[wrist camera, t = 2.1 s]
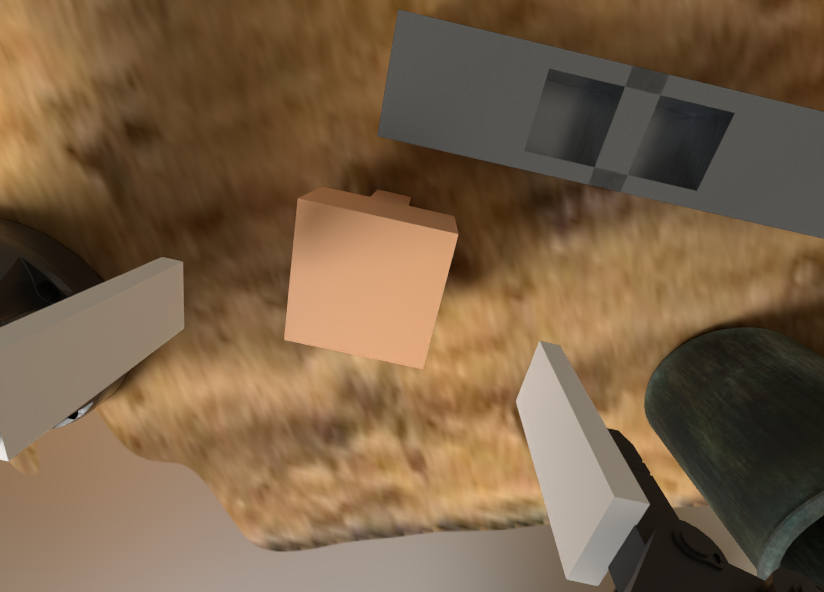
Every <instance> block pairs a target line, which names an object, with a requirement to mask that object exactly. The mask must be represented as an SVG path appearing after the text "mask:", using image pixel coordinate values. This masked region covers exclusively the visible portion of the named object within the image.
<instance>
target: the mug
mask: <svg viewBox="0 0 824 592" xmlns="http://www.w3.org/2000/svg"><path fill="white" fill-rule="evenodd" d="M644 407H645V413H646V417H647V419H648V422H649V424H650V425H651V427H652V428H653V429H654V431H655V432H656V434H657V435H658V436H659V438H660V439H661V440H662V442H663V443H664V444H665V446H666V447H667V449H668V450H669V451H670V453H671V454H672V455H673V457H674V458H675V459H676V461H677V462H678V463H679V465H680V466H681V467H682V469H683V470H684V472H685V473H686V474H687V476H688V477H689V478H690V480H691V481H692V482H693V484H694V485H695V486H696V488H697V489H698V491H699V492H700V493H701V495H702V496H703V497H704V499H705V500H706V501H707V503H708V504H709V505H710V507H711V508H712V509H713V511H714V512H715V513H716V515H717V516H718V518H719V519H720V520H721V522H722V523H723V524H724V526H725V527H726V528H727V530H728V531H729V533H730V534H731V535H732V536H733V538H734V539H735V540H736V542H737V543H738V545H739V546H740V547H741V549H742V550H743V551H744V553H745V554H746V556H747V557H748V558H749V560H750V561H751V562H752V564H753V565H754V566H755V568H756V569H757V577H759V578H761V579H763V580H766V579H767V578H768V577H769V576H770V575H771V574H772V572H774V571H775V570H776V569H778V568H781V569H789V570H792V571H794V572H797V573H799V574H802V575H804V576H805V577H807V578H808V579H810V580H812V581H813V582H815V583H817V584H818V585H820V586H821V587H823V588H824V357H823V356H821V355H819V354H817V353H816V352H814V351H812V350H810V349H809V348H807V347H805V346H804V345H802V344H800V343H798V342H797V341H795V340H793V339H791V338H790V337H788V336H785V335H783V334H781V333H779V332H776V331H772V330H769V329H763V328H755V327H741V328H730V329H722V330H718V331H714V332H709V333H707V334H704V335H701V336H698V337H696V338H694V339H692V340H690V341H688V342H686V343H684V344H683V345H681V346H680V347H678V348H677V349H675V350H674V351H673V352H672V353H670V354H669V355H668V356H667V357H666V358H665V359H664V360H663V361H662V362H661V363H660V364H659V365H658V367H657V368H656V370H655V371H654V373H653V374H652V376H651V378H650V381H649V383H648V386H647V390H646V395H645V406H644Z"/></svg>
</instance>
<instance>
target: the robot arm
mask: <svg viewBox="0 0 824 592" xmlns="http://www.w3.org/2000/svg"><path fill="white" fill-rule="evenodd" d="M183 329H184V282H183V261H178V260H174V259H169V258H165V257H160V258H158V259H156V260H154V261H151V262H149V263H147V264H144V265H142V266H140V267H138V268H135V269H133V270H131V271H128V272H126V273H124V274H122V275H119V276H117V277H115V278H112V279H110V280H108V281H106V282H102V281H101V280H100V278H99V277H98V276H97V275H96V274H95V273H94V272H93V271H92V270H91V269H90V268H89V267H88V266H87V265H86V264H85V263H84V262H83V261H82V260H81V259H80V258H78V257H77V256H76V255H75V254H74V253H72V252H71V251H70V250H68V249H67V248H65V247H64V246H62V245H61V244H59V243H58V242H56V241H55V240H53V239H51V238H50V237H48V236H46V235H44V234H42V233H40V232H38V231H36V230H34V229H31V228H29V227H26V226H24V225H21V224H18V223H15V222H11V221H7V220H3V219H0V460H4V461H9V460H11V459H12V458H13V457H15V456H16V455H17V454H19V453H20V452H21V451H23V450H24V449H25V448H27V447H28V446H29V445H31V444H32V443H33V442H35V441H36V440H37V439H39V438H40V437H41V436H42V435H44V434H45V433H47V431H49V430H51V429H54V428H58V427H61V426H64V425H67V424H69V423H72V422H74V421H76V420H78V419H80V418H82V417H83V416H85V415H87V414H88V413H89V412H91V411H92V410H94V409H95V408H96V407H97V406H99V405H100V404H101V403H102V402H103V401H105V400H106V399H107V398H108V397H110V396H111V395H112V394H113V393H114V392H115V391H116V390H117V389H118V388H119V387H120V386H121V384H122V383H123V381H124V379H125V377H126V375H127V372H128V371H129V370H130V369H131V368H133V367H134V366H135V365H137V364H138V363H139V362H141V361H142V360H143V359H145V358H146V357H147V356H149V355H150V354H151V353H153V352H154V351H155V350H157V349H158V348H159V347H160V346H162V345H163V344H164V343H166V342H167V341H168V340H170V339H171V338H172V337H174V336H175V335H176V334H178V333H179V332H180V331H182V330H183ZM516 403H517V407H518V410H519V414H520V417H521V421H522V424H523V428H524V431H525V435H526V439H527V442H528V446H529V449H530V453H531V456H532V460H533V463H534V467H535V470H536V474H537V477H538V481H539V484H540V488H541V492H542V495H543V499H544V502H545V506H546V509H547V513H548V516H549V520H550V523H551V527H552V530H553V534H554V537H555V541H556V544H557V548H558V552H559V555H560V558H561V562H562V566H563V569H564V573H565V576H566V579H567V580H572V581H577V582H582V583H587V584H591V585H596V586H598V585H599V583H600V582H601V580H602V579H603V577H604V576H605V574H606V573H607V571H608V570H609V571H610V574H611V576H612V579H613V582H614V584H615V587H616V588H615V589H614V591H613V592H824V588H823V587H821V586H820V585H818V584H817V583H815V582H813V581H812V580H810V579H808V578H807V577H805V576H804V575H802V574H799V573H797V572H794V571H792V570H789V569H781V568H778V569H776V570H775V571H774V572H772V574H771V575H770V576H769V577H768V578H767V579H766V580H763V579H761V578H759V577H756V576H754V575H752V574H750V573H748V572H746V571H744V570H742V569H740V568H737V567H735V566H733V565H731V564H729V563H728V561H727V560H726V558H725V556H724V554H723V553H722V551H721V550H720V549H719V547H718V546H717V545H716V544H715V543H714V542H713V541H712V540H711V539H710V538H709V537H708V536H706V535H705V534H704V533H703V532H701V531H700V530H699V529H698V528H696V527H694V526H692V525H690V524H689V523H687V522H685V521H682V520H679V518H678V517H677V515H676V513H675V512H674V510H673V508H672V507H671V505H670V504H669V502H668V500H667V499H666V497H665V496H664V494H663V492H662V491H661V489H660V488H659V486H658V484H657V483H656V481H655V479H654V478H653V476H651V475H650V471H649V470H648V468H647V467H646V465H645V463H642V459H641V457H640V455H639V454H638V452H637V450H636V449H635V447H634V446H633V444H632V443H630V442H629V441H628V440H627V439H626V438H625V437H624V436H623V435H622V434H621V433H620V432H619V431H618V430H613V429H608V428H606V426H605V424H604V422H603V420H602V419H601V417H600V415H599V413H598V412H597V410H596V408H595V406H594V405H593V403H592V401H591V399H590V398H589V396H588V394H587V392H586V390H585V389H584V387H583V385H582V383H581V382H580V380H579V378H578V376H577V375H576V373H575V371H574V369H573V368H572V366H571V364H570V362H569V361H568V359H567V357H566V355H565V353H564V352H563V350H562V348H561V346H560V345H556V344H551V343H547V342H542V341H539V343H538V346H537V348H536V351H535V354H534V356H533V359H532V361H531V364H530V366H529V369H528V372H527V374H526V377H525V379H524V382H523V384H522V387H521V390H520V392H519V395H518V397H517V400H516Z"/></svg>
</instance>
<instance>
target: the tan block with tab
mask: <svg viewBox="0 0 824 592" xmlns="http://www.w3.org/2000/svg"><path fill="white" fill-rule="evenodd" d="M410 199H411V197H409V196H405V195H401V194H396V193H392V192H387V191H383V190H377V191H376V192H375V193H374V194H373V195H372V196H371V197H368V196H363V195H359V194H354V193H350V192H346V191H341V190H337V189H332V188H328V187H323V186H322V187H320V188H318V189H316V190H314V191H312V192H310V193H308V194H305V195H303V196H301V197H299V198H298V200H297V210H296V221H295V231H294V242H293V252H292V263H291V273H290V284H289V294H288V304H287V315H286V325H285V336H284V340H288V341H292V342H297V343H302V344H307V345H311V346H316V347H321V348H326V349H330V350H335V351H340V352H344V353H349V354H354V355H359V356H363V357H368V358H373V359H377V360H382V361H387V362H392V363H396V364H401V365H406V366H410V367H415V368H420V369H423V367H424V363H425V359H426V356H427V352H428V348H429V344H430V340H431V337H432V333H433V329H434V325H435V322H436V318H437V314H438V310H439V306H440V303H441V299H442V295H443V291H444V287H445V284H446V280H447V276H448V272H449V269H450V265H451V261H452V257H453V253H454V250H455V246H456V242H457V238H458V235H459V234H458V229H457V225H456V221H455V217H454V216H452V215H448V214H443V213H439V212H434V211H430V210H426V209H421V208H417V207H412V206H409V204H410Z"/></svg>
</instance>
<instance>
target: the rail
mask: <svg viewBox="0 0 824 592" xmlns="http://www.w3.org/2000/svg"><path fill="white" fill-rule="evenodd" d="M378 136H379V137H383V138H388V139H392V140H396V141H401V142H405V143H409V144H414V145H418V146H423V147H427V148H431V149H436V150H440V151H444V152H449V153H453V154H457V155H462V156H466V157H470V158H475V159H479V160H483V161H488V162H492V163H496V164H501V165H505V166H510V167H514V168H518V169H523V170H527V171H531V172H536V173H540V174H544V175H549V176H553V177H557V178H562V179H566V180H570V181H575V182H579V183H583V184H588V185H592V186H596V187H601V188H605V189H610V190H614V191H618V192H623V193H627V194H631V195H636V196H640V197H644V198H649V199H653V200H657V201H662V202H666V203H670V204H675V205H679V206H683V207H688V208H692V209H696V210H701V211H705V212H710V213H714V214H718V215H723V216H727V217H731V218H736V219H740V220H744V221H749V222H753V223H757V224H762V225H766V226H770V227H775V228H779V229H783V230H788V231H792V232H796V233H801V234H805V235H810V236H814V237H818V238H824V112H823V111H819V110H814V109H810V108H806V107H802V106H798V105H794V104H789V103H785V102H781V101H777V100H773V99H769V98H765V97H760V96H756V95H752V94H748V93H744V92H740V91H735V90H731V89H727V88H723V87H719V86H715V85H711V84H706V83H702V82H698V81H694V80H690V79H686V78H681V77H677V76H673V75H669V74H665V73H661V72H657V71H652V70H648V69H644V68H640V67H636V66H632V65H627V64H623V63H619V62H615V61H611V60H607V59H603V58H598V57H594V56H590V55H586V54H582V53H578V52H573V51H569V50H565V49H561V48H557V47H553V46H549V45H544V44H540V43H536V42H532V41H528V40H524V39H519V38H515V37H511V36H507V35H503V34H499V33H495V32H490V31H486V30H482V29H478V28H474V27H470V26H465V25H461V24H457V23H453V22H449V21H445V20H441V19H436V18H432V17H428V16H424V15H420V14H416V13H411V12H407V11H403V10H399V9H398V14H397V20H396V26H395V32H394V38H393V44H392V50H391V57H390V63H389V69H388V75H387V81H386V87H385V93H384V99H383V105H382V111H381V117H380V123H379V130H378Z"/></svg>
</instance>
